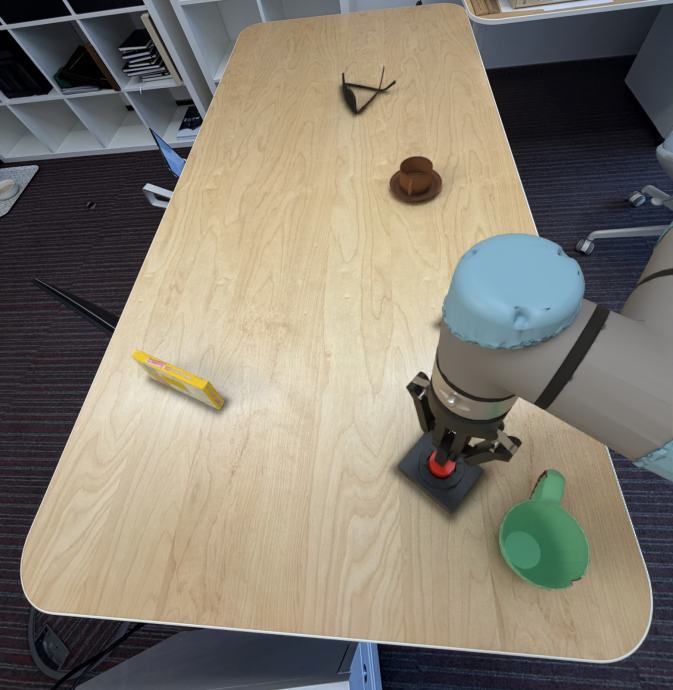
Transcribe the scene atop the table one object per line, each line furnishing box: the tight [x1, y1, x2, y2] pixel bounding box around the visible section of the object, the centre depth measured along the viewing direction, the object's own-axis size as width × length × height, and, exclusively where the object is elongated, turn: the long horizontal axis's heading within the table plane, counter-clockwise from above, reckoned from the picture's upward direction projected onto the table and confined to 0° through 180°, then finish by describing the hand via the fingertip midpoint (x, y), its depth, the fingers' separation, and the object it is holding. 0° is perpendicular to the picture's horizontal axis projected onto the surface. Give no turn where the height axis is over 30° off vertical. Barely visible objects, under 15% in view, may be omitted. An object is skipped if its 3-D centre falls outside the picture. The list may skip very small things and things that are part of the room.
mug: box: [498, 468, 591, 591], centre depth 54 cm, size 15×10×10 cm
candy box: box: [130, 349, 225, 411], centre depth 73 cm, size 16×2×8 cm, turn 64°
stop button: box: [429, 451, 456, 477], centre depth 60 cm, size 4×4×2 cm
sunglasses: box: [341, 65, 397, 114], centre depth 119 cm, size 17×14×5 cm
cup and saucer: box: [389, 155, 443, 203], centre depth 95 cm, size 12×12×6 cm
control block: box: [397, 432, 485, 515], centre depth 62 cm, size 10×8×4 cm
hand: (443, 456), depth 57 cm, fingers closed
